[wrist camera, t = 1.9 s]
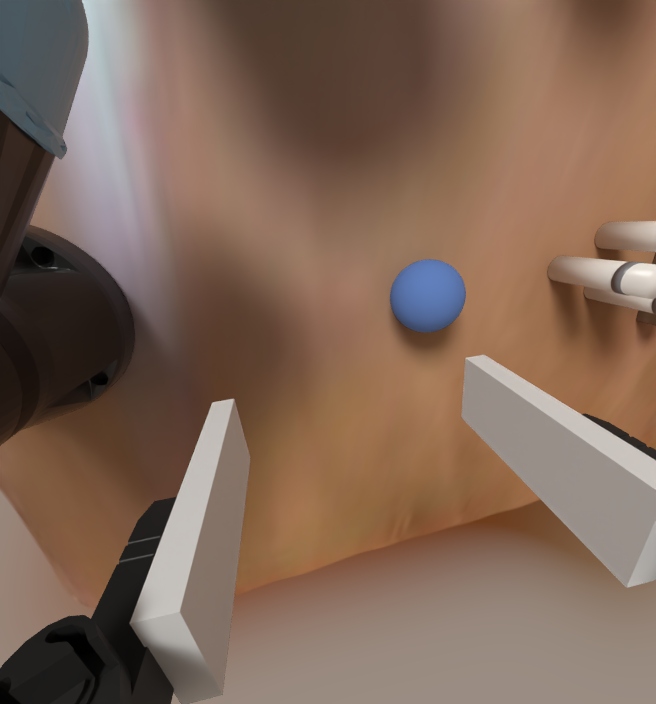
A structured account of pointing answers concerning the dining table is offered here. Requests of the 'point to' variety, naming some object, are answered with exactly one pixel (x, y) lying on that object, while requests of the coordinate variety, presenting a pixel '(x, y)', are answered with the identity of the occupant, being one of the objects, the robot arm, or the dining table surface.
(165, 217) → the dining table surface
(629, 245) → the pin
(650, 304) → the pin
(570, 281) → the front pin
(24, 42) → the robot arm
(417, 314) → the ball
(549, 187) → the dining table surface
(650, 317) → the wall
